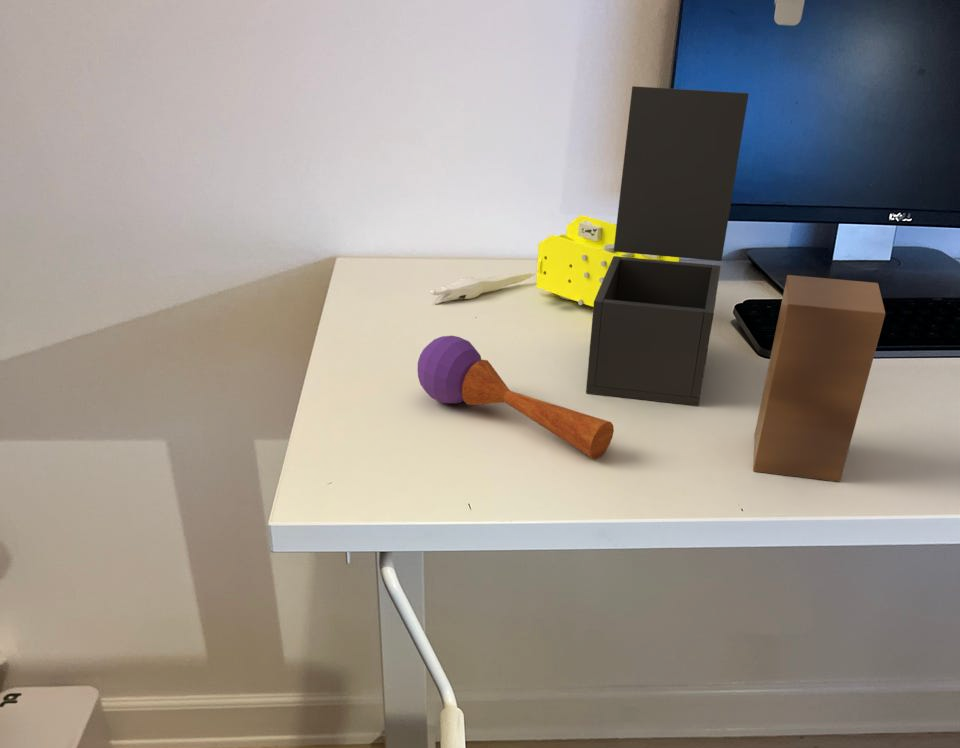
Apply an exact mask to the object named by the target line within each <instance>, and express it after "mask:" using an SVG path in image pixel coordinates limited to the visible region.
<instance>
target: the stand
mask: <svg viewBox="0 0 960 748" xmlns="http://www.w3.org/2000/svg"><path fill="white" fill-rule="evenodd" d="M885 318H886V310H885V305H884V302H883V297H882V294H881V289H880V286H879V283H878V282H870V281H861V280H859V281H858V280H848V279H839V278H838V279H837V278H825V277H815V276H804V275H793V274H787V275H786V279H785V284H784V288H783V293H782V298H781V304H780V309H779V313H778V318H777V323H776V329H775V332H774V338H773V343H772V347H771V352H770V357H769V362H768V367H767V372H766V377H765V381H764V385H763V386H764V387H763V391H762V396H761V401H760V407H759V410H758V416H757V420H756V426H755V430H754V439H753V460H752V461H753V463H752V471H753V472H755V473H764V474H765V473H766V474H773V475H779V476H780V475H781V476H789V477H796V478H803V479H804V478H805V479H813V480H821V481H830V482H838V483H840V482H841V479H842V476H843V472H844V469H845V464H846V461H847V457H848V454H849V450H850V446H851V442H852V438H853V435H854V431H855V428H856V423H857V420H858V417H859V412H860V409H861V406H862V401H863V398H864V395H865V391H866V387H867V385H868V384H867V383H868V381H869V376H870V372H871V369H872V365H873V361H874V357H875V354H876V350H877V348H878V347H877V346H878V343H879V339H880V336H881V332H882V328H883V324H884V320H885Z"/></svg>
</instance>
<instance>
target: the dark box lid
mask: <svg viewBox="0 0 960 748" xmlns="http://www.w3.org/2000/svg"><path fill="white" fill-rule="evenodd" d="M749 95H750V93H749V92H735V91H718V90H703V89H702V90H701V89H687V88H685V89H684V88H669V87H667V88H666V87H654V86H653V87H651V86H637V85H636V86H635V85H634V86H633V85H632V86H631V94H630V104H629V111H628V121H627V130H626V139H625V146H624V147H625V148H624V156H623V165H622V172H621V173H622V175H621V183H620V190H619V200H618V209H617V217H616V234H615V243H614V252H624V253H635V254H646V255H658V256H669V257H680V259H691V260H703V261H715V262H722V261H723V255H724V248H725V242H726V237H727V236H726V235H727V229H728V223H729V219H730V218H729V217H730V211H731V206H732V205H731V204H732V198H733V193H734V188H735V187H734V186H735V181H736V174H737V168H738V162H739V157H740V150H741V145H742V138H743V130H744V124H745V119H746V113H747V106H748V100H749Z"/></svg>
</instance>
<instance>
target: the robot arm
mask: <svg viewBox="0 0 960 748" xmlns="http://www.w3.org/2000/svg"><path fill="white" fill-rule="evenodd" d="M804 6H805V0H774V7H775V10H774V17H773V18H774V19H773V20H774V22H775V23H776V24H777V25H778V26H791V27H792V26H797V25H799V23H800V22H801V20H802V16H803V12H804V8H805V7H804Z"/></svg>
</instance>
